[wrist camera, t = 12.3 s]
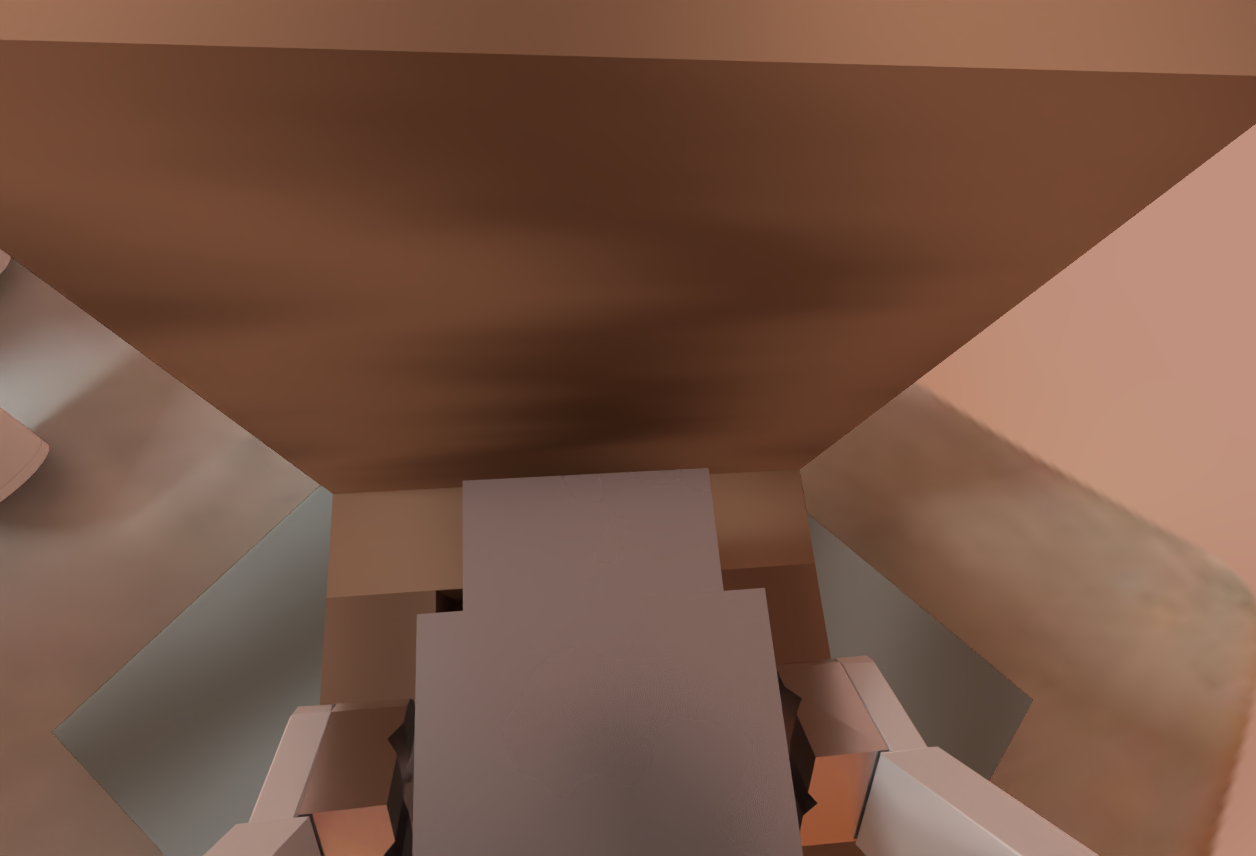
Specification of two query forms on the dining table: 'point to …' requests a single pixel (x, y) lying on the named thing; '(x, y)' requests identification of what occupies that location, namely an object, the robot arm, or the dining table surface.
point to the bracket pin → (599, 681)
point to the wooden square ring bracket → (561, 290)
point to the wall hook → (17, 443)
